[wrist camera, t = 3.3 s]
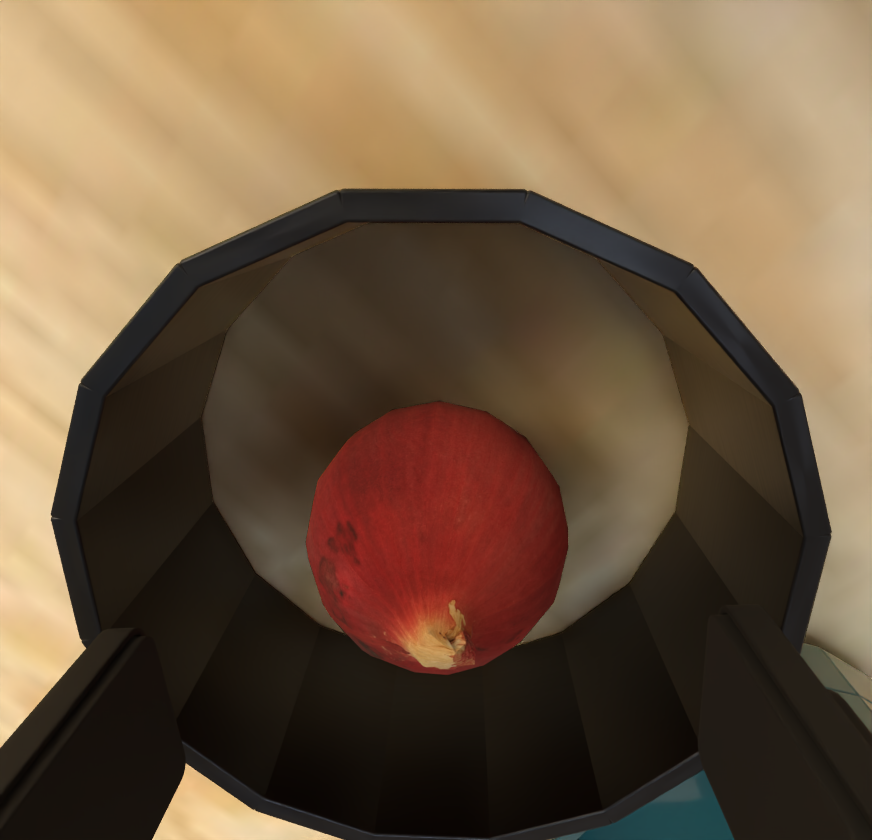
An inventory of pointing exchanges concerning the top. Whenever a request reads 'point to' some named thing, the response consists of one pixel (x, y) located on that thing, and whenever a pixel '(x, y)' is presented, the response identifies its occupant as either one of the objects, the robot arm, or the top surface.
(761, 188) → the top surface
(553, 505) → the onion
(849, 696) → the bowl
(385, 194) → the tin
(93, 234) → the top surface
